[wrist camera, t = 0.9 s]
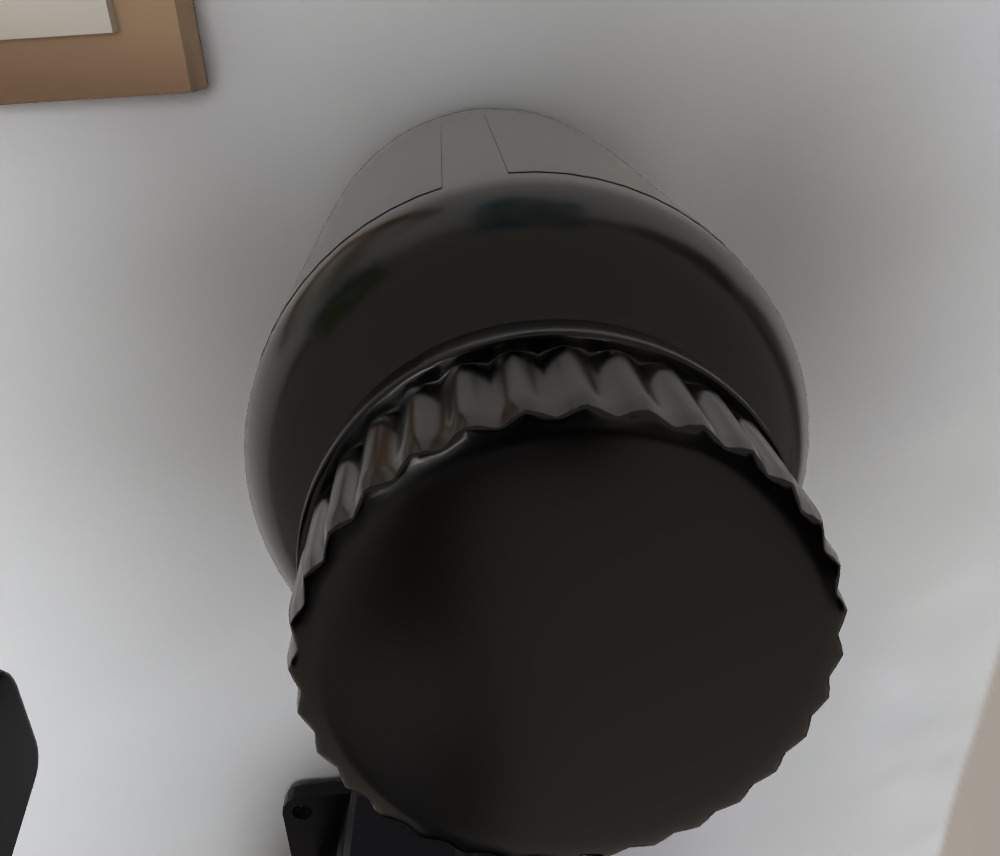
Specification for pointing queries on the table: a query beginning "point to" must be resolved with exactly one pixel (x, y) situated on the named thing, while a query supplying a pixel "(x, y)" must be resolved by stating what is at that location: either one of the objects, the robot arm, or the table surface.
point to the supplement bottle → (539, 498)
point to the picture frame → (98, 49)
